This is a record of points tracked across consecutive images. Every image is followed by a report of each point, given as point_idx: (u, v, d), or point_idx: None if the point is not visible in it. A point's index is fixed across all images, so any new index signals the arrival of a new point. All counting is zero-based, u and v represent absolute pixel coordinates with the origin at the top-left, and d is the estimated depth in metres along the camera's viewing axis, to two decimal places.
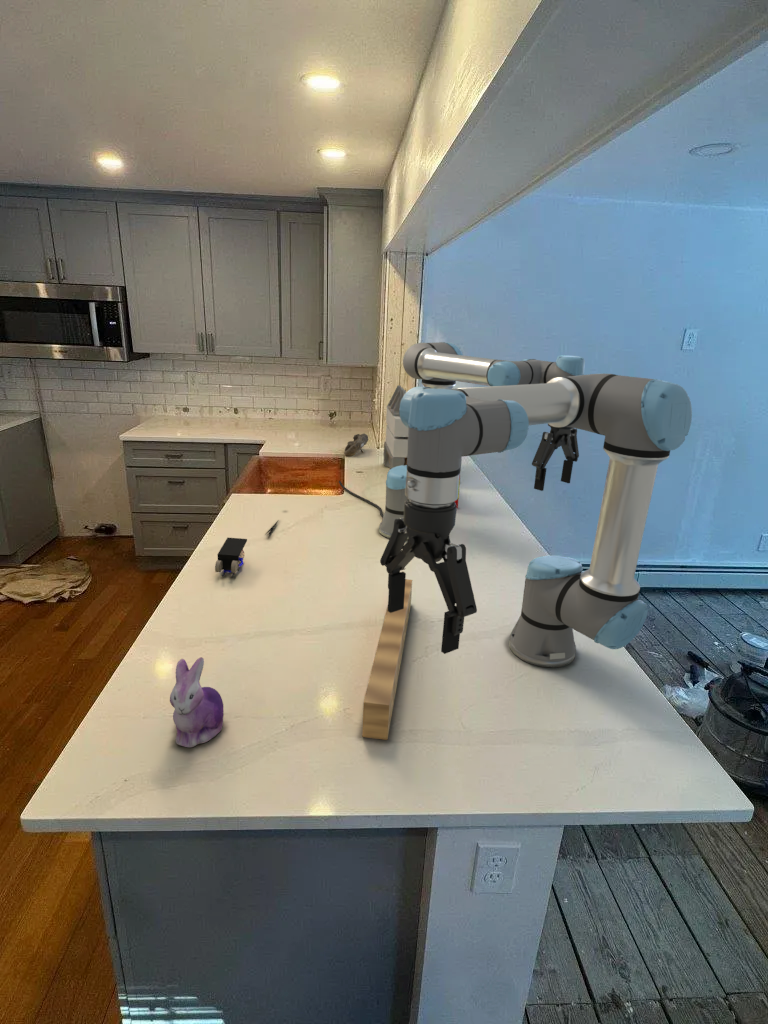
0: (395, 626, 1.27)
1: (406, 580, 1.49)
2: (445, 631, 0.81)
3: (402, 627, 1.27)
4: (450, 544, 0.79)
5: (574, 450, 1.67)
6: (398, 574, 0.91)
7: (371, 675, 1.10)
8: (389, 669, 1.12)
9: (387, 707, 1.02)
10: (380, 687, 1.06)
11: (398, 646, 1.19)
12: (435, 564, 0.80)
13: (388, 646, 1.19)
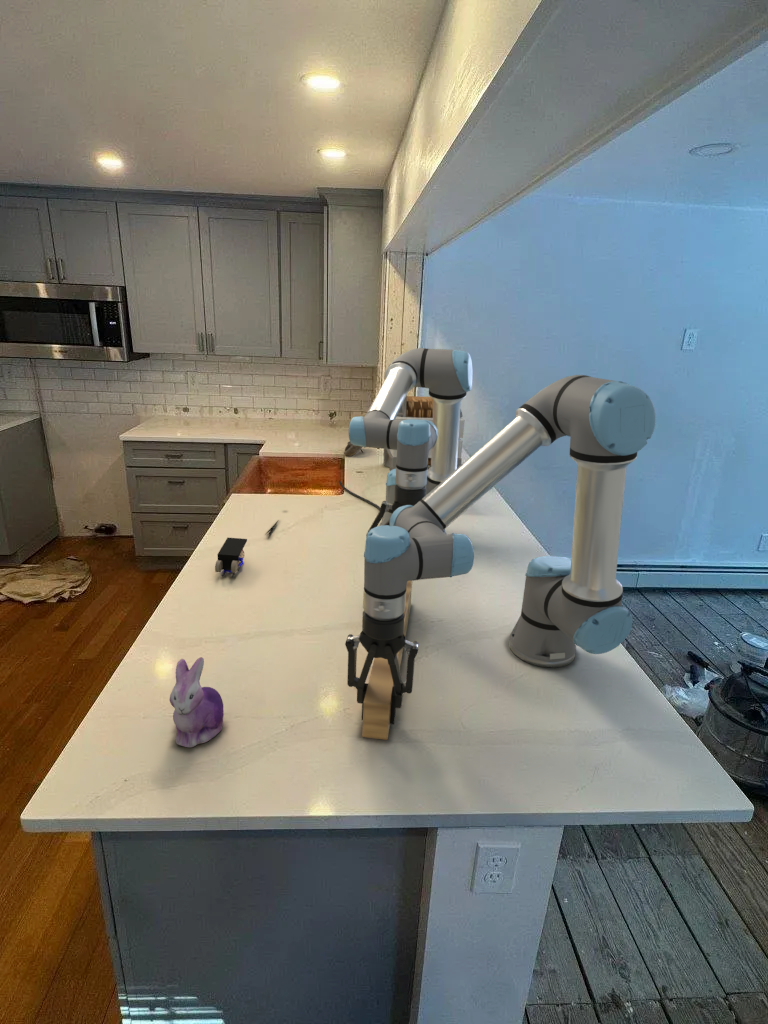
0: None
1: None
2: (393, 708, 1.06)
3: None
4: (409, 642, 1.03)
5: None
6: (366, 687, 1.07)
7: (371, 675, 1.10)
8: (389, 669, 1.12)
9: (387, 707, 1.02)
10: (380, 687, 1.06)
11: None
12: (394, 661, 1.03)
13: None
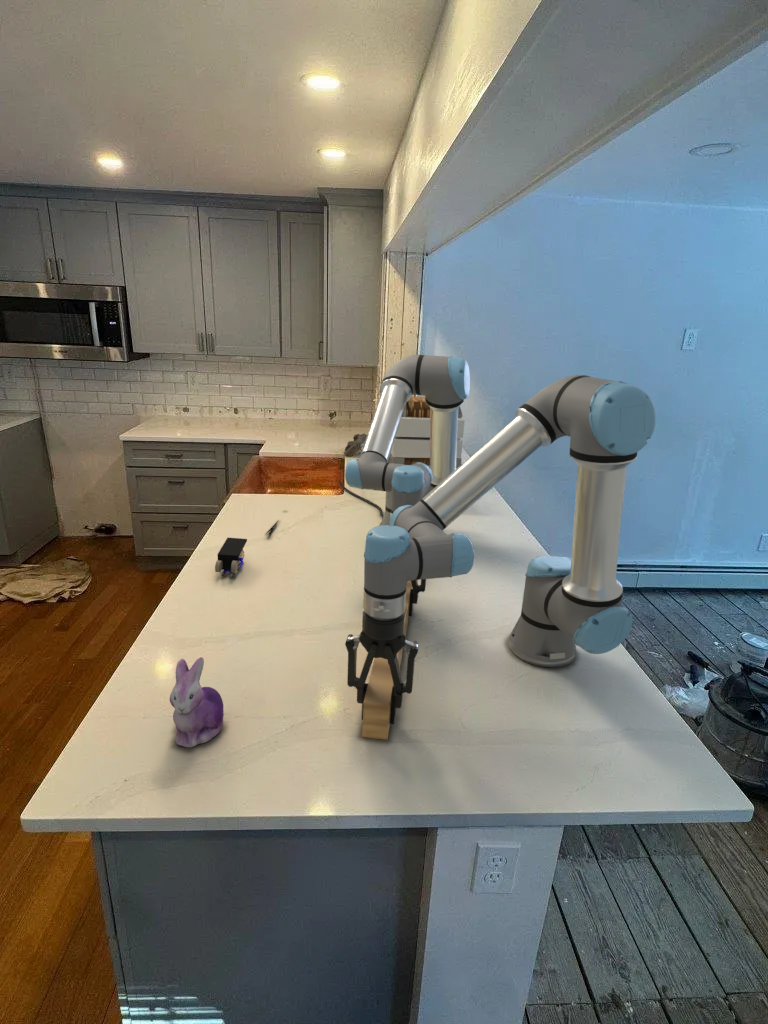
0: None
1: None
2: (393, 708, 1.06)
3: None
4: (409, 642, 1.03)
5: (421, 580, 1.42)
6: (366, 687, 1.07)
7: (371, 675, 1.10)
8: (389, 669, 1.12)
9: (387, 707, 1.02)
10: (380, 687, 1.06)
11: None
12: (394, 661, 1.03)
13: None
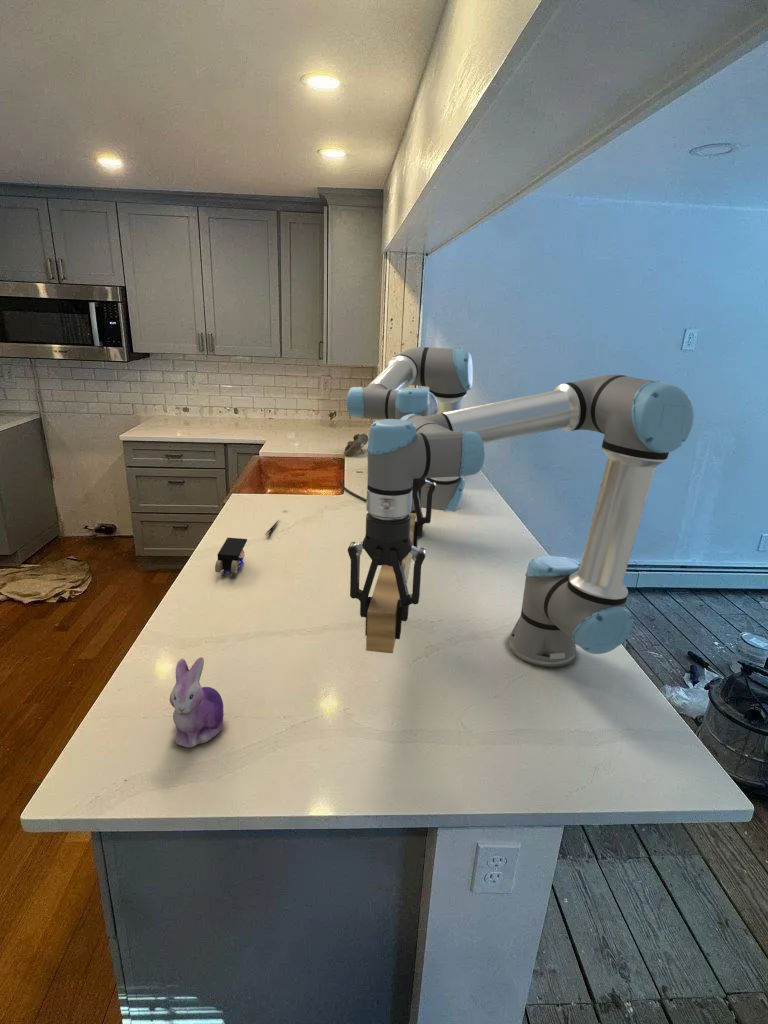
0: None
1: (410, 514, 1.42)
2: (399, 621, 1.00)
3: None
4: (416, 548, 0.96)
5: (426, 510, 1.36)
6: (370, 600, 1.01)
7: (375, 589, 1.03)
8: (394, 584, 1.06)
9: (393, 616, 0.96)
10: (385, 599, 1.00)
11: (403, 566, 1.13)
12: (400, 567, 0.97)
13: None
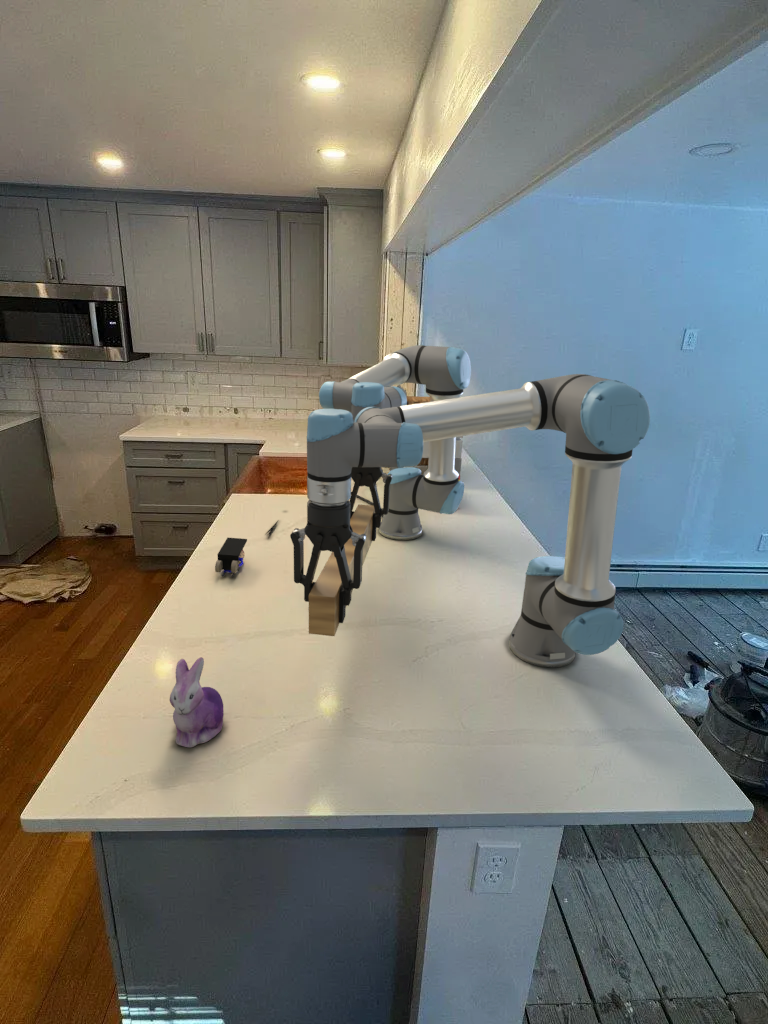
0: None
1: (370, 506, 1.46)
2: (341, 605, 1.03)
3: None
4: (356, 534, 1.00)
5: None
6: None
7: (320, 575, 1.07)
8: None
9: (333, 600, 0.99)
10: (328, 584, 1.03)
11: (352, 554, 1.16)
12: (341, 553, 1.00)
13: None
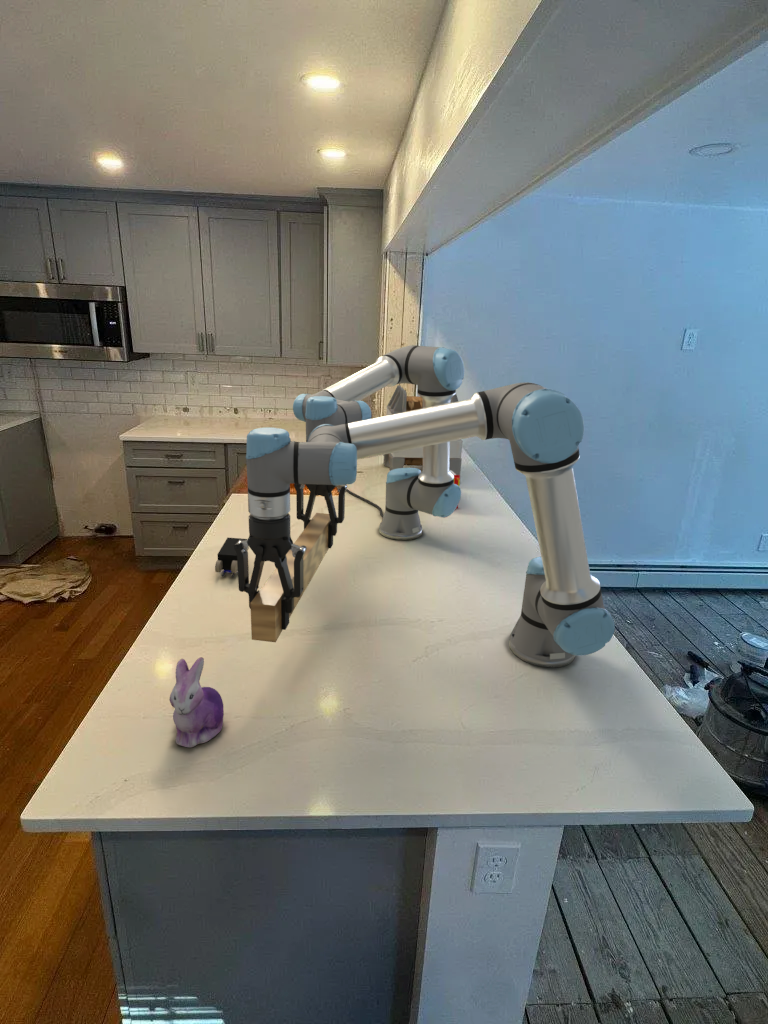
0: None
1: (327, 514, 1.51)
2: (284, 613, 1.09)
3: (310, 549, 1.29)
4: (296, 546, 1.05)
5: None
6: None
7: (265, 583, 1.12)
8: None
9: (273, 608, 1.04)
10: (271, 592, 1.09)
11: None
12: (281, 563, 1.05)
13: (291, 562, 1.22)
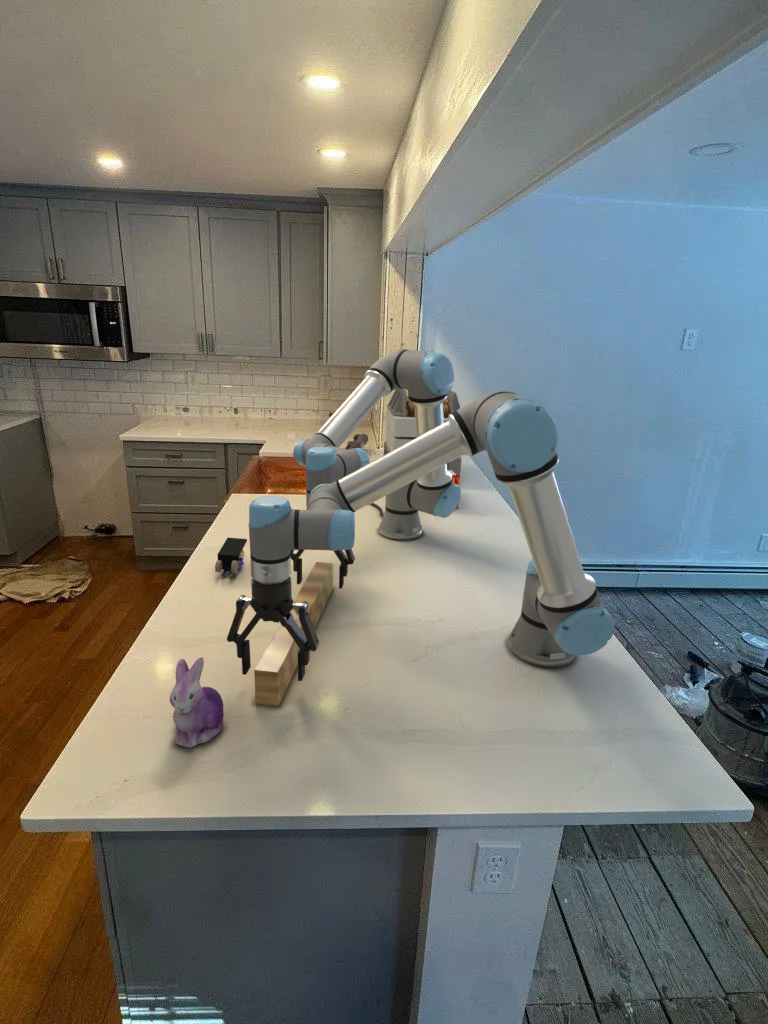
0: None
1: (327, 563, 1.56)
2: (300, 665, 1.12)
3: (310, 605, 1.34)
4: (297, 604, 1.09)
5: None
6: (245, 643, 1.14)
7: (268, 647, 1.17)
8: (287, 641, 1.19)
9: (276, 674, 1.09)
10: (274, 657, 1.14)
11: None
12: (287, 621, 1.09)
13: None
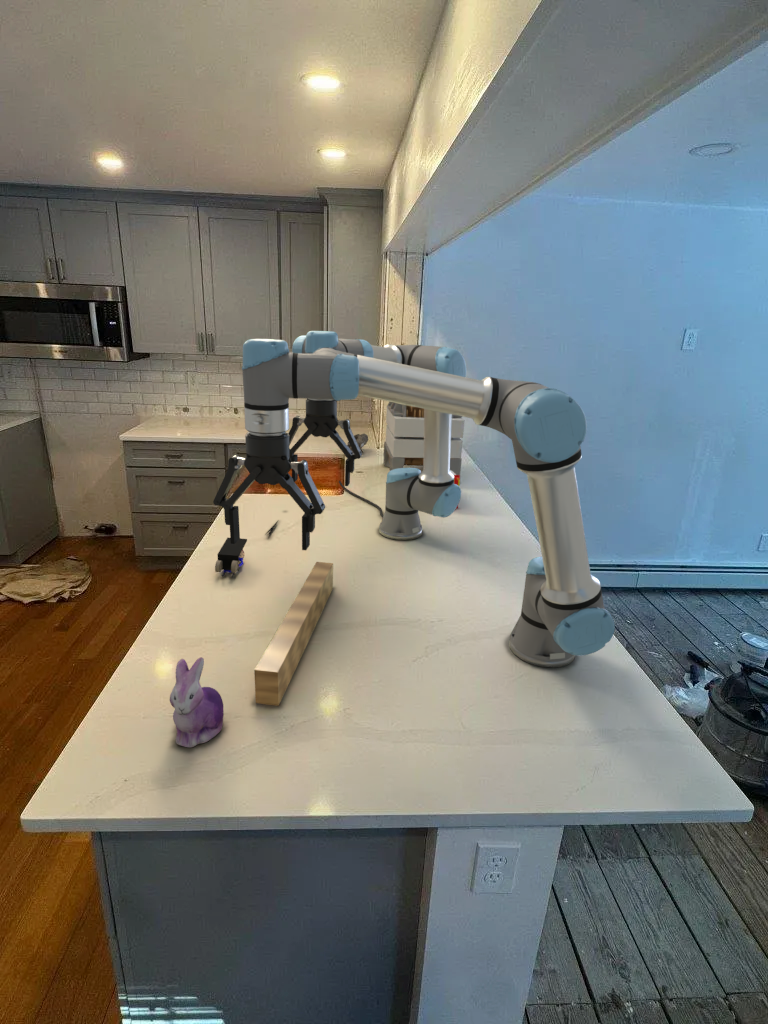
0: (304, 604, 1.34)
1: (327, 563, 1.56)
2: (304, 531, 1.03)
3: (310, 605, 1.34)
4: (295, 462, 1.00)
5: None
6: (234, 508, 1.04)
7: (268, 647, 1.17)
8: (287, 641, 1.19)
9: (276, 674, 1.09)
10: (274, 657, 1.14)
11: (301, 621, 1.27)
12: (286, 481, 1.00)
13: (292, 621, 1.27)
